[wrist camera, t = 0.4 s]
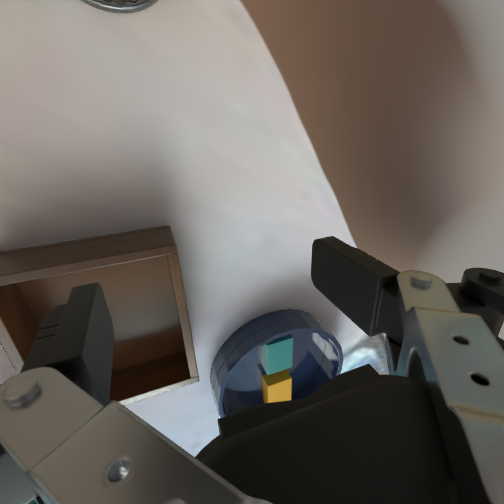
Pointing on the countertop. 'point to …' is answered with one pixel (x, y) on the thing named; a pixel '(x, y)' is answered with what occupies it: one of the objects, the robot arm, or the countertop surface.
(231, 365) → the bowl
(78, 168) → the countertop surface
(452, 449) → the robot arm
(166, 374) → the box
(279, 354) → the block
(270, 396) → the block
